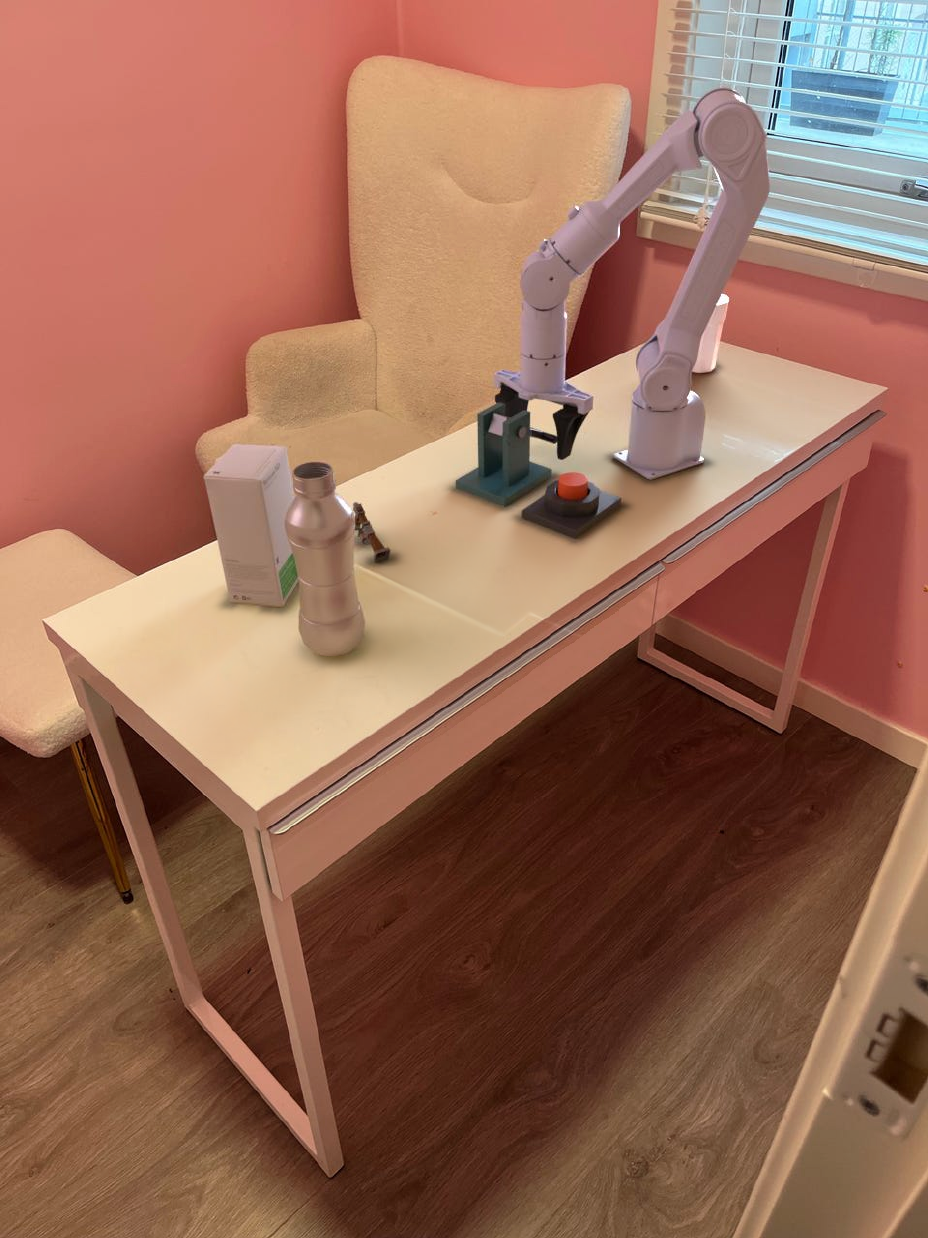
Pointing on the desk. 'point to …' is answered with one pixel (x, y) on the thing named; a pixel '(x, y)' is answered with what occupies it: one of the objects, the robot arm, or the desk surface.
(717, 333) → the cup
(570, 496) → the button
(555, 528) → the control block
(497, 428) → the lever
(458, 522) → the desk surface
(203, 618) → the desk surface
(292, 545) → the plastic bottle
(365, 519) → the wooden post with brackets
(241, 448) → the cosmetic box
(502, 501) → the bracket
